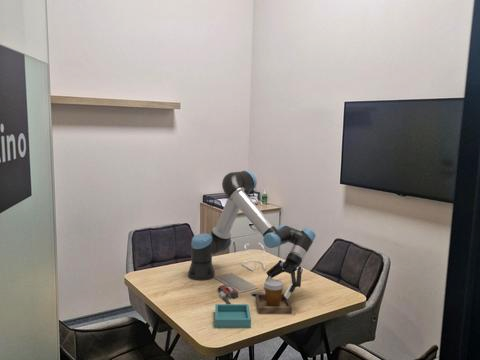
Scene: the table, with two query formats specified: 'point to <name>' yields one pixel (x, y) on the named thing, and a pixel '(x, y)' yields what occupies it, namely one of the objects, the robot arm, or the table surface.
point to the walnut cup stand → (273, 309)
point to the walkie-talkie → (227, 292)
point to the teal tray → (232, 316)
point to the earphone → (254, 260)
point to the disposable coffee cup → (273, 292)
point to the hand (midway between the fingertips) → (274, 293)
